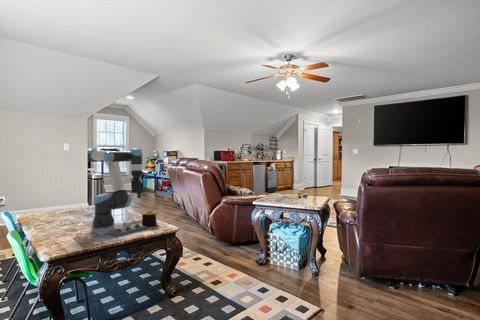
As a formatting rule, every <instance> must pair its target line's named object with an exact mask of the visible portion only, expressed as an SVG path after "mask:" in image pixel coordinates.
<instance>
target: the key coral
mask: <svg viewBox="0 0 480 320" xmlns="http://www.w3.org/2000/svg"><path fill="white" fill-rule="evenodd" d="M132 222H133V224H135V225H136V227H138V226H139V224H141V225H142V219H141V218H136V219H135V218H134V219H132Z"/></svg>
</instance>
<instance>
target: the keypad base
mask: <svg viewBox="0 0 480 320" xmlns="http://www.w3.org/2000/svg"><path fill="white" fill-rule="evenodd" d="M147 229H148V227H147V226H144V225H142V224H139V226H138V227H136V225H135V224H133V226H130V228H129V229H127V227H126V226H123V228H120V231H117V229H115V228H112V229H108V233H109V234H111V235H112V236H116V237H120V236H124V235H128V234H133V233H136V232H140V231H145V230H147Z"/></svg>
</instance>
